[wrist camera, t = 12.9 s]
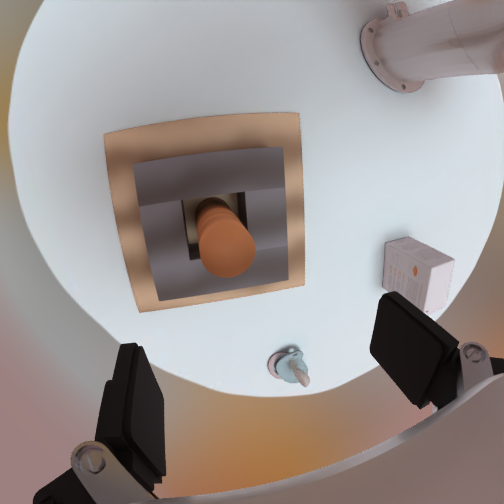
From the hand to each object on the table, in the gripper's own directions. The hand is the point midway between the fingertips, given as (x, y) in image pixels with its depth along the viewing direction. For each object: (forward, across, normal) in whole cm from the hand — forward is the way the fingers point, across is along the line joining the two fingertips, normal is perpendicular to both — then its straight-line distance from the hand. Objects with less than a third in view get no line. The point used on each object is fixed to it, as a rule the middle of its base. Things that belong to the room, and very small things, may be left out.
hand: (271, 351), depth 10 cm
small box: (+24, -28, +11) cm, 39 cm away
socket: (+24, 0, 0) cm, 24 cm away
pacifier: (+24, -8, +26) cm, 36 cm away
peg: (+23, 0, 0) cm, 23 cm away
